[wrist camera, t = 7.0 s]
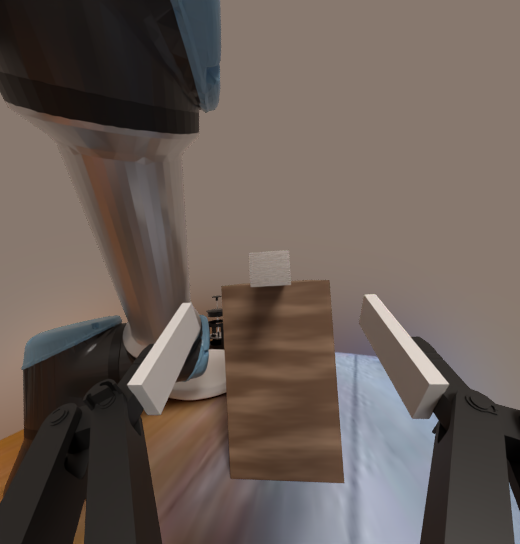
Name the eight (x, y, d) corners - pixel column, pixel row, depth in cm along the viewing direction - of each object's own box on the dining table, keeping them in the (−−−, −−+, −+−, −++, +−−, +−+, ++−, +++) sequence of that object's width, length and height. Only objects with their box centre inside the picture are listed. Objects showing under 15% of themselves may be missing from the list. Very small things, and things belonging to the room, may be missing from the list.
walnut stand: (344, 483, 27) (329, 280, 28) (230, 478, 28) (221, 286, 29) (319, 406, 42) (310, 280, 44) (248, 406, 44) (241, 283, 45)
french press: (225, 344, 89) (223, 294, 90) (235, 349, 82) (232, 295, 83) (200, 351, 82) (198, 297, 83) (209, 357, 74) (206, 297, 75)
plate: (249, 345, 72) (248, 383, 45) (248, 362, 72) (247, 412, 45) (173, 342, 71) (127, 380, 44) (172, 360, 71) (124, 409, 44)
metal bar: (291, 284, 16) (288, 250, 17) (250, 287, 17) (248, 252, 17) (282, 281, 48) (282, 269, 48) (268, 282, 49) (268, 270, 49)
